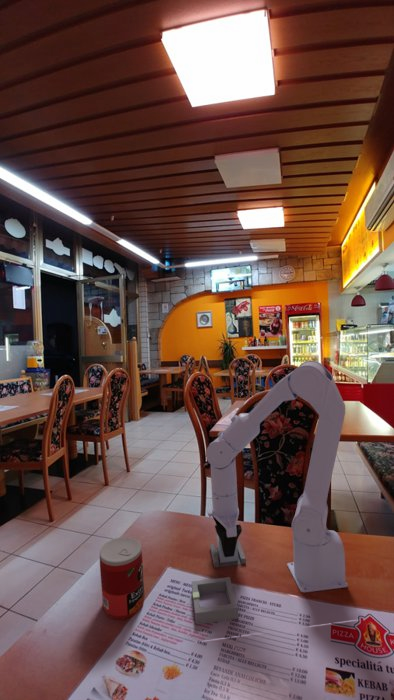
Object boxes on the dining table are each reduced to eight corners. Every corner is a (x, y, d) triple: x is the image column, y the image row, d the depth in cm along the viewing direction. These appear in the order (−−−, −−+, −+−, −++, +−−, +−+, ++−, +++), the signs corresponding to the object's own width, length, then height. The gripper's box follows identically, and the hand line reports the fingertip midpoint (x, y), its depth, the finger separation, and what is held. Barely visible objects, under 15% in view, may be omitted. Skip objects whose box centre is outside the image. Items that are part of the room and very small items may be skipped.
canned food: (136, 623, 60) (132, 564, 60) (95, 618, 62) (91, 560, 61) (150, 591, 68) (147, 537, 67) (113, 586, 70) (110, 535, 69)
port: (230, 587, 68) (229, 575, 68) (238, 619, 60) (237, 606, 60) (191, 592, 67) (191, 580, 67) (195, 625, 59) (194, 611, 59)
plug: (234, 549, 79) (233, 521, 79) (238, 560, 75) (236, 531, 75) (217, 551, 79) (216, 523, 78) (220, 562, 75) (218, 533, 74)
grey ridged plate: (239, 546, 81) (239, 540, 80) (245, 564, 74) (245, 558, 74) (210, 549, 80) (210, 543, 80) (214, 568, 74) (214, 562, 73)
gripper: (203, 478, 83) (205, 532, 84) (211, 509, 69) (214, 573, 69) (231, 475, 84) (233, 529, 84) (245, 505, 69) (248, 569, 70)
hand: (227, 549), depth 77 cm, fingers closed on plug, 4 cm apart
